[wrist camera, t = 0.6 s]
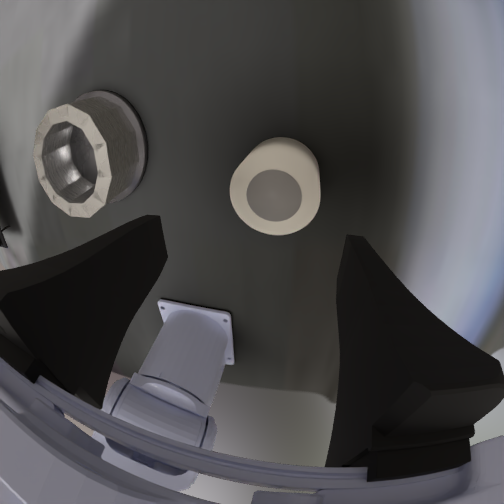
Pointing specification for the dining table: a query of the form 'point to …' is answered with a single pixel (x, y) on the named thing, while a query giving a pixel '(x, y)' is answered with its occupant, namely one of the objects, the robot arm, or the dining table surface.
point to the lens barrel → (90, 152)
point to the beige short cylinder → (277, 187)
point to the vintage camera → (0, 238)
